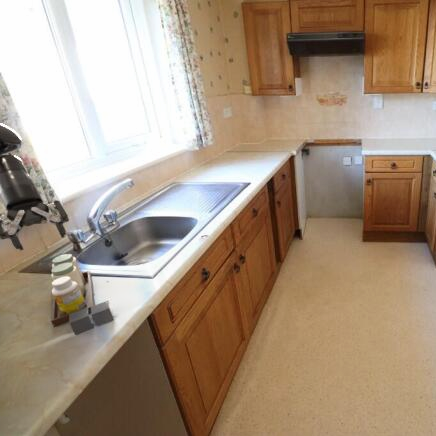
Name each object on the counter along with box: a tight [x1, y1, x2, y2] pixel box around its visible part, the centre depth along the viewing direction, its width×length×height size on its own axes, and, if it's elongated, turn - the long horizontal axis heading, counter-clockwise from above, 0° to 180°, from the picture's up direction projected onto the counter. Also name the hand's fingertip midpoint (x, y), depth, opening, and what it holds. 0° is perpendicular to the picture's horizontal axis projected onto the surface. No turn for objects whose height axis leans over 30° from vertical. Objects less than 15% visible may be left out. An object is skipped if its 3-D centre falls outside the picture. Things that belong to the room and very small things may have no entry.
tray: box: [50, 270, 96, 328], centre depth 94 cm, size 9×22×3 cm, turn 36°
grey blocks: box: [68, 300, 115, 336], centre depth 85 cm, size 9×4×4 cm, turn 126°
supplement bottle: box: [51, 276, 86, 315], centre depth 87 cm, size 6×6×10 cm
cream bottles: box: [50, 253, 86, 296], centre depth 96 cm, size 6×12×10 cm, turn 36°
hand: (43, 242), depth 83 cm, fingers open, 8 cm apart
